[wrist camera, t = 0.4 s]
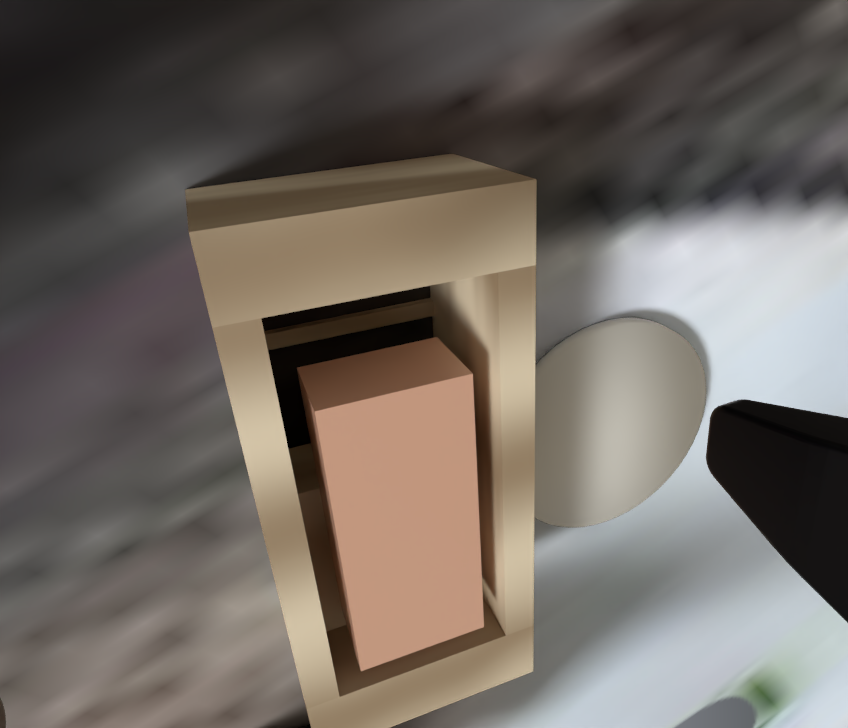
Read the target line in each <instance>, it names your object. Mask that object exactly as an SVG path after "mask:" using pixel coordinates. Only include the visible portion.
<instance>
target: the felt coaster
mask: <svg viewBox="0 0 848 728" xmlns="http://www.w3.org/2000/svg"><path fill="white" fill-rule="evenodd" d="M705 401H706V380H705V374H704V369H703V366H702V363H701V361H700V358H699V356H698V355H697V353H696V351H695V349H694V348H693V347H692V346H691V344H690V343H689V342H688V341H687V340H686V339H685V338H683V337H682V336H681V335H680V334H678V333H676V332H674V331H673V330H671V329H669V328H667V327H665V326H663V325H661V324H659V323H657V322H654V321H651V320H648V319H641V318H617V319H611V320H606V321H603V322H600V323H596V324H593V325H591V326H589V327H586V328H584V329H582V330H580V331H578V332H576V333H575V334H573V335H571V336H569V337H568V338H566V339H565V340H563V341H562V342H561V343H559V344H558V345H556V346H555V347H554V348H553V349H551V350H550V351H549V352H548V353H547V354H546V355H545V356H544V357H543V358H542V359H541V360H540V361H539V362H538V363H537V364H536V365H535V488H534V517H535V518H536V519H538V520H540V521H542V522H545V523H547V524H551V525H554V526H559V527H568V528H569V527H585V526H591V525H595V524H599V523H603V522H606V521H608V520H611V519H613V518H616V517H618V516H620V515H622V514H624V513H626V512H628V511H629V510H631V509H633V508H634V507H636V506H637V505H639V504H640V503H642V502H643V501H644V500H646V499H647V498H648V497H650V496H651V495H652V494H653V493H654V492H655V491H657V490H658V489H659V488H660V487H661V486H662V485H663V484H664V483H665V482H666V481H667V480H668V479H669V477H670V476H671V475H672V474H673V473H674V471H675V470H676V469H677V468H678V466H679V465H680V463H681V462H682V460H683V459H684V457H685V456H686V455H687V453H688V451H689V449H690V447H691V445H692V444H693V442H694V439H695V437H696V435H697V432H698V430H699V427H700V424H701V421H702V418H703V413H704V408H705Z"/></svg>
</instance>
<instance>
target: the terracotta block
mask: <svg viewBox="0 0 848 728" xmlns="http://www.w3.org/2000/svg"><path fill="white" fill-rule="evenodd" d="M297 372H298V377H299V383H300V388H301V393H302V399H303V404H304V409H305V415H306V420H307V425H308V431H309V436H310V442H311V447H312V452H313V458H314V463H315V468H316V474H317V479H318V484H319V490H320V495H321V501H322V506H323V511H324V517H325V522H326V527H327V533H328V538H329V543H330V549H331V554H332V559H333V565H334V570H335V576H336V581H337V586H338V592H339V597H340V602H341V608H342V612H343V615H344V618H345V621H346V625H347V628H348V631H349V634H350V638H351V641H352V644H353V647H354V651H355V654H356V657H357V660H358V663H359V667H360V670H361V671H364V670H366V669H369V668H372V667H375V666H377V665H380V664H383V663H386V662H388V661H391V660H394V659H397V658H400V657H402V656H405V655H408V654H411V653H413V652H416V651H419V650H422V649H424V648H427V647H430V646H433V645H435V644H438V643H441V642H444V641H447V640H449V639H452V638H455V637H458V636H460V635H463V634H466V633H469V632H471V631H474V630H477V629H480V628H483V627H484V615H483V592H482V570H481V547H480V524H479V502H478V479H477V456H476V434H475V411H474V388H473V373H472V372H471V371H470V370H469V369H468V368H467V367H466V366H465V365H464V364H463V363H462V362H461V361H460V360H459V359H458V358H457V357H456V356H455V355H454V354H453V353H452V352H451V351H450V350H449V349H448V348H447V347H446V346H445V345H444V344H443V343H442V342H441V341H440V339H439V338H438V337H435V338H430V339H426V340H421V341H416V342H412V343H407V344H403V345H398V346H394V347H389V348H384V349H380V350H375V351H371V352H366V353H361V354H357V355H352V356H348V357H343V358H339V359H334V360H329V361H325V362H320V363H316V364H311V365H307V366H302V367H297Z"/></svg>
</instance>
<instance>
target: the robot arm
mask: <svg viewBox="0 0 848 728" xmlns="http://www.w3.org/2000/svg"><path fill="white" fill-rule="evenodd" d="M706 460H707V465H708V468H709V470H710V472H711V474H712V475H713V476H714V478H715V479H716V480H717V481H718V482H719V484H720V485H721V486H722V487H723V488H724V489H725V491H726V492H727V493H728V494H729V495H730V496H731V498H732V499H733V500H734V501H735V502H736V503H737V505H738V506H739V507H740V508H741V509H742V511H743V512H744V513H745V514H746V515H747V516H748V518H749V519H750V520H751V521H752V522H753V523H754V525H755V526H756V527H757V528H758V529H759V531H760V532H761V533H762V534H763V535H764V536H765V538H766V539H767V540H768V541H769V542H770V543H771V545H772V546H773V547H774V548H775V549H776V550H777V551H778V553H779V554H780V555H781V556H782V557H783V558H784V559H785V560H786V562H787V563H788V564H789V565H790V566H791V567H792V568H793V569H794V570H795V571H796V572H797V573H798V574H799V575H800V576H801V577H802V578H803V579H804V580H805V581H806V582H807V583H808V584H809V585H810V586H811V587H812V588H813V589H814V590H815V591H816V592H817V593H818V594H819V595H820V596H821V597H822V598H823V599H824V600H825V601H826V602H827V603H828V604H829V605H830V606H831V607H832V608H833V609H834V610H835V611H836V612H837V613H838V614H840V615H841V616H842V617H843V618H844V619H845V620H846V621H847V622H848V418H844V417H838V416H833V415H828V414H822V413H817V412H811V411H806V410H800V409H795V408H789V407H784V406H778V405H773V404H767V403H762V402H756V401H751V400H736V401H733V402H730V403H727V404H724V405H721V406H718V407H717V408H715V409H714V411H713V412H712V414H711V417H710V425H709V434H708V443H707V453H706ZM0 728H6V717H5V710H4V706H3V703H2V701H1V698H0ZM307 728H311V726H309V727H307Z"/></svg>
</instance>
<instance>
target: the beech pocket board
mask: <svg viewBox="0 0 848 728" xmlns="http://www.w3.org/2000/svg"><path fill="white" fill-rule="evenodd" d="M536 191H537V179H534V178H531V177H527V176H524V175H521V174H518V173H514V172H511V171H508V170H504V169H501V168H498V167H495V166H491V165H488V164H485V163H482V162H478V161H475V160H472V159H469V158H465V157H462V156H459V155H455V154H445V155H438V156H431V157H423V158H416V159H408V160H401V161H393V162H386V163H378V164H371V165H363V166H356V167H348V168H341V169H333V170H326V171H319V172H311V173H304V174H296V175H289V176H281V177H274V178H266V179H259V180H251V181H244V182H236V183H229V184H221V185H214V186H207V187H199V188H192V189H185V193H186V205H187V217H188V229H189V235H190V239H191V243H192V247H193V251H194V255H195V259H196V263H197V267H198V271H199V276H200V280H201V284H202V288H203V292H204V296H205V300H206V304H207V308H208V312H209V316H210V320H211V324H212V328H213V332H214V336H215V340H216V344H217V348H218V352H219V357H220V361H221V365H222V369H223V373H224V377H225V381H226V385H227V389H228V393H229V397H230V401H231V405H232V409H233V413H234V417H235V421H236V425H237V429H238V433H239V438H240V442H241V446H242V450H243V454H244V458H245V462H246V466H247V470H248V474H249V478H250V482H251V486H252V490H253V494H254V498H255V502H256V506H257V510H258V515H259V519H260V523H261V527H262V531H263V535H264V539H265V543H266V547H267V551H268V555H269V559H270V563H271V567H272V571H273V575H274V579H275V583H276V587H277V591H278V596H279V600H280V604H281V608H282V612H283V616H284V620H285V624H286V628H287V632H288V636H289V640H290V644H291V648H292V652H293V656H294V660H295V664H296V668H297V672H298V677H299V681H300V685H301V689H302V693H303V697H304V701H305V705H306V709H307V713H308V717H309V721H310V725H311V728H390V727H393V726H395V725H398V724H400V723H403V722H406V721H408V720H411V719H413V718H416V717H418V716H421V715H423V714H426V713H429V712H431V711H434V710H436V709H439V708H441V707H444V706H446V705H449V704H452V703H454V702H457V701H459V700H462V699H464V698H467V697H469V696H472V695H474V694H477V693H480V692H482V691H485V690H487V689H490V688H492V687H495V686H497V685H500V684H503V683H505V682H508V681H510V680H513V679H515V678H518V677H520V676H523V675H526V674H528V673H531V672H533V637H534V488H535V340H536ZM425 286H430V296H431V298H428V299H423V300H418V301H413V302H408V303H403V304H397V305H392V306H387V307H382V308H377V309H372V310H367V311H362V312H357V313H352V314H347V315H342V316H337V317H332V318H327V319H322V320H317V321H312V322H307V323H302V324H297V325H292V326H287V327H282V328H277V329H272V330H267V331H264V329H263V324H262V319H261V318H265V317H271V316H276V315H281V314H286V313H291V312H296V311H301V310H307V309H312V308H317V307H322V306H327V305H332V304H338V303H343V302H348V301H353V300H358V299H363V298H369V297H374V296H379V295H384V294H389V293H394V292H400V291H405V290H410V289H415V288H420V287H425ZM430 316H432V323H433V337H434V338H435V337H438V338H439V339H440V341H441V342H442V343H443V344H444V345H445V346H446V347H447V348H448V349H449V350H450V351H451V352H452V353H453V354H454V355H455V356H456V357H457V358H458V359H459V360H460V361H461V362H462V363H463V364H464V365H465V366H466V367H467V368H468V369H469V370H470V371H471V372H472V373H473V388H474V411H475V434H476V456H477V479H478V502H479V524H480V547H481V570H482V592H483V615H484V627H483V628H480V629H477V630H474V631H471V632H469V633H466V634H463V635H460V636H458V637H455V638H452V639H449V640H447V641H444V642H441V643H438V644H435V645H433V646H430V647H427V648H424V649H422V650H419V651H416V652H413V653H411V654H408V655H405V656H402V657H400V658H397V659H394V660H391V661H388V662H386V663H383V664H380V665H377V666H375V667H372V668H369V669H366V670H364V671H361V670H360V667H359V663H358V660H357V657H356V654H355V651H354V647H353V644H352V641H351V638H350V634H349V631H348V628H347V625H346V621H345V618H344V615H343V612H342V608H341V602H340V597H339V592H338V586H337V581H336V576H335V570H334V565H333V559H332V554H331V549H330V543H329V538H328V533H327V527H326V522H325V517H324V511H323V506H322V501H321V495H320V490H319V484H318V479H317V474H316V468H315V463H314V458H313V452H312V447H311V443H309V444H305V445H301V446H297V447H294V448H290V449H288V445H287V440H286V435H285V430H284V425H283V421H282V416H281V411H280V406H279V401H278V396H277V392H276V387H275V382H274V377H273V372H272V367H271V363H270V358H269V353H268V350H272V349H277V348H282V347H286V346H291V345H296V344H301V343H306V342H310V341H315V340H320V339H325V338H330V337H334V336H339V335H344V334H349V333H354V332H358V331H363V330H368V329H373V328H378V327H382V326H387V325H392V324H397V323H402V322H406V321H411V320H416V319H421V318H426V317H430Z"/></svg>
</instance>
